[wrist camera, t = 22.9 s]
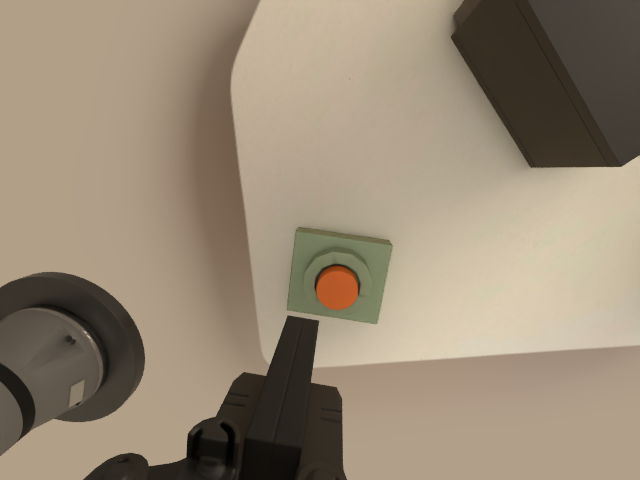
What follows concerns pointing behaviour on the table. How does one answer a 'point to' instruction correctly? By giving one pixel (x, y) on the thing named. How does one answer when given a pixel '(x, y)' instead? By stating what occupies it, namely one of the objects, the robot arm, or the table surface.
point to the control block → (338, 250)
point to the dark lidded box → (560, 76)
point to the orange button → (337, 287)
